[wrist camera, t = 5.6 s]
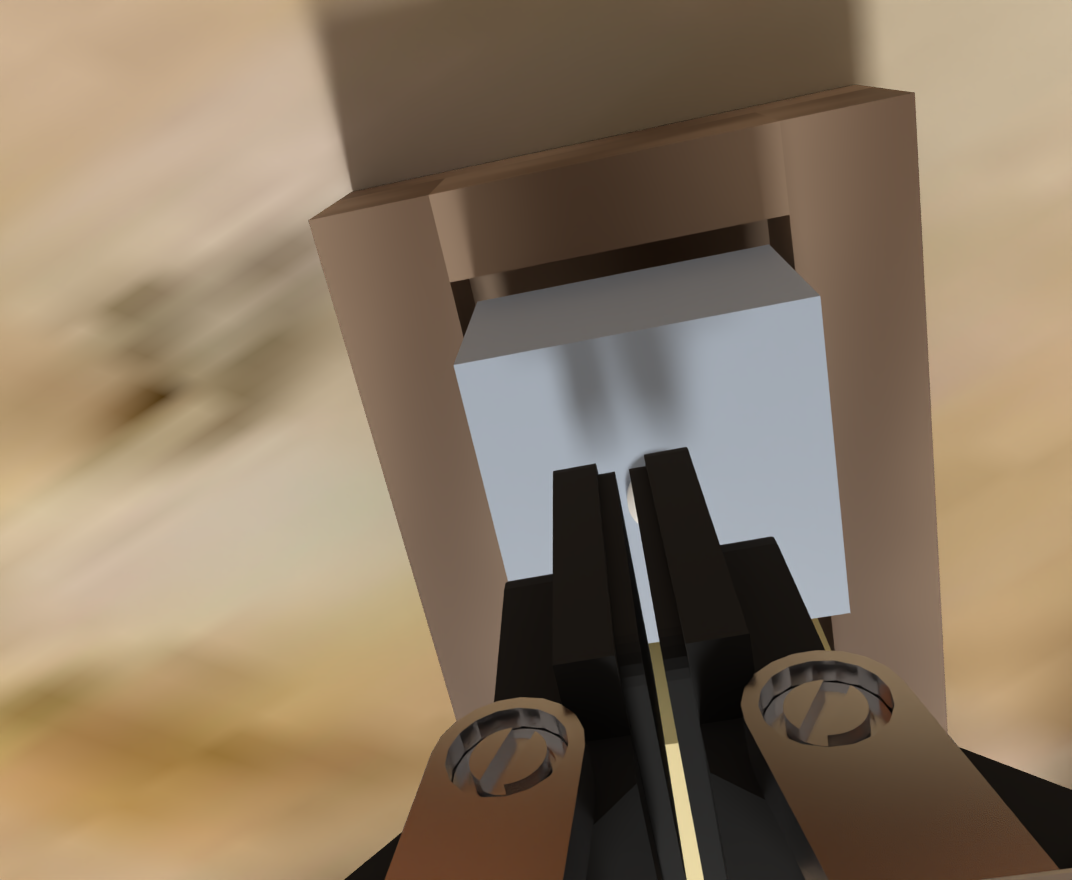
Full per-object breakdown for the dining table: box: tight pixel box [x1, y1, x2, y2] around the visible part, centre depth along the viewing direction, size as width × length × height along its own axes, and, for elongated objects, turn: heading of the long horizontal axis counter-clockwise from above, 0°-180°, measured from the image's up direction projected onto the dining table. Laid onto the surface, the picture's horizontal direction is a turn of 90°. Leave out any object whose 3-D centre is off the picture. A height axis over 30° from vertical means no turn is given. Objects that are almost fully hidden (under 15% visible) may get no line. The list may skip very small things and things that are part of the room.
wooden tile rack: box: [308, 85, 947, 732], centre depth 21 cm, size 10×23×3 cm, turn 12°
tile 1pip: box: [454, 245, 850, 643], centre depth 15 cm, size 5×5×4 cm
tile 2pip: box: [648, 618, 831, 880], centre depth 18 cm, size 5×5×4 cm
